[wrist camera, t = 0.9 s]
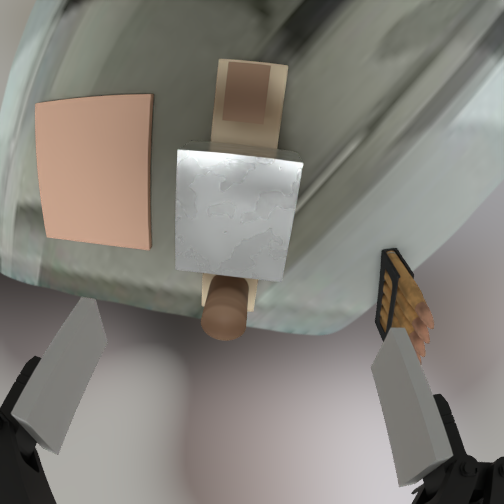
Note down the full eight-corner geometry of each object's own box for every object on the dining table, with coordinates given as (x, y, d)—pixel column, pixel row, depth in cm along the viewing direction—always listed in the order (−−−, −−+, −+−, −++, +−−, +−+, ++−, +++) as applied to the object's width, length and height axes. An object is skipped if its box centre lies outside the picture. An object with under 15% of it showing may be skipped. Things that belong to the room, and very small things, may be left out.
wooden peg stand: (226, 65, 23) (207, 49, 15) (283, 70, 24) (295, 57, 15) (209, 277, 34) (192, 341, 25) (254, 282, 34) (251, 349, 25)
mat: (39, 102, 24) (35, 103, 24) (153, 94, 25) (150, 94, 24) (50, 234, 32) (46, 237, 31) (151, 246, 32) (149, 250, 32)
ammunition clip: (381, 249, 32) (425, 322, 21) (396, 247, 32) (444, 317, 21) (374, 322, 37) (402, 397, 26) (388, 320, 37) (417, 393, 26)
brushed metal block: (191, 140, 22) (177, 149, 19) (296, 151, 22) (303, 163, 19) (186, 244, 27) (175, 269, 23) (279, 255, 27) (281, 281, 23)
